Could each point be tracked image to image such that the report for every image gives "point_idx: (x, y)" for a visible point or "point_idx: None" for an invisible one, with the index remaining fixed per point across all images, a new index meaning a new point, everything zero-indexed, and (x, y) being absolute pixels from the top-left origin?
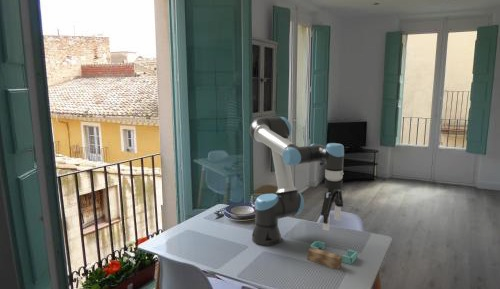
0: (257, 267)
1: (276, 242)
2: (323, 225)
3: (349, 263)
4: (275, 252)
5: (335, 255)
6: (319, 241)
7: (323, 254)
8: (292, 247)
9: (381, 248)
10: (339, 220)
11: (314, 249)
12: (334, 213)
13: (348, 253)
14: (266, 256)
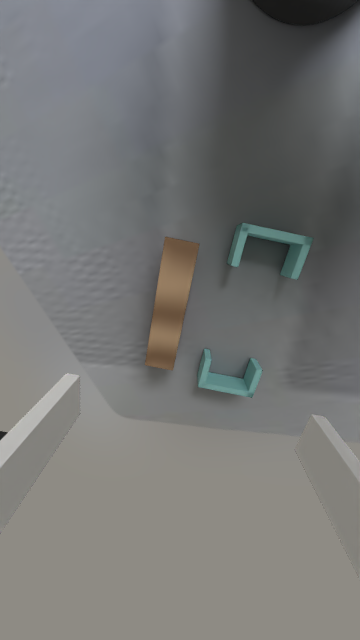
0: (5, 40)
1: (272, 5)
2: (44, 401)
3: (198, 371)
4: (175, 61)
5: (167, 350)
6: (305, 255)
7: (154, 310)
8: (258, 132)
9: None
10: (296, 450)
11: (182, 265)
12: (348, 469)
13: (252, 366)
14: (116, 30)
